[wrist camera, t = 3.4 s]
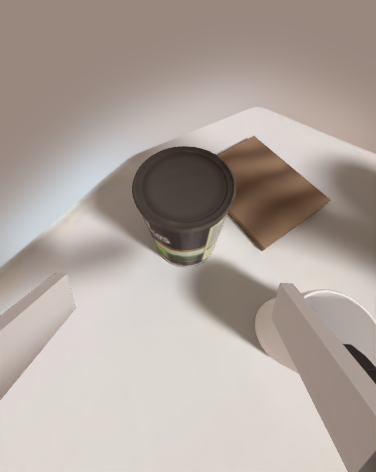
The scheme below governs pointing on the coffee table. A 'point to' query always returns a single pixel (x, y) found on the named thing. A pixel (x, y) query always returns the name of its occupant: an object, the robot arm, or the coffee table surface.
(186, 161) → the coffee can
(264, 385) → the coffee table surface
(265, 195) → the walnut board
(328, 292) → the cup
